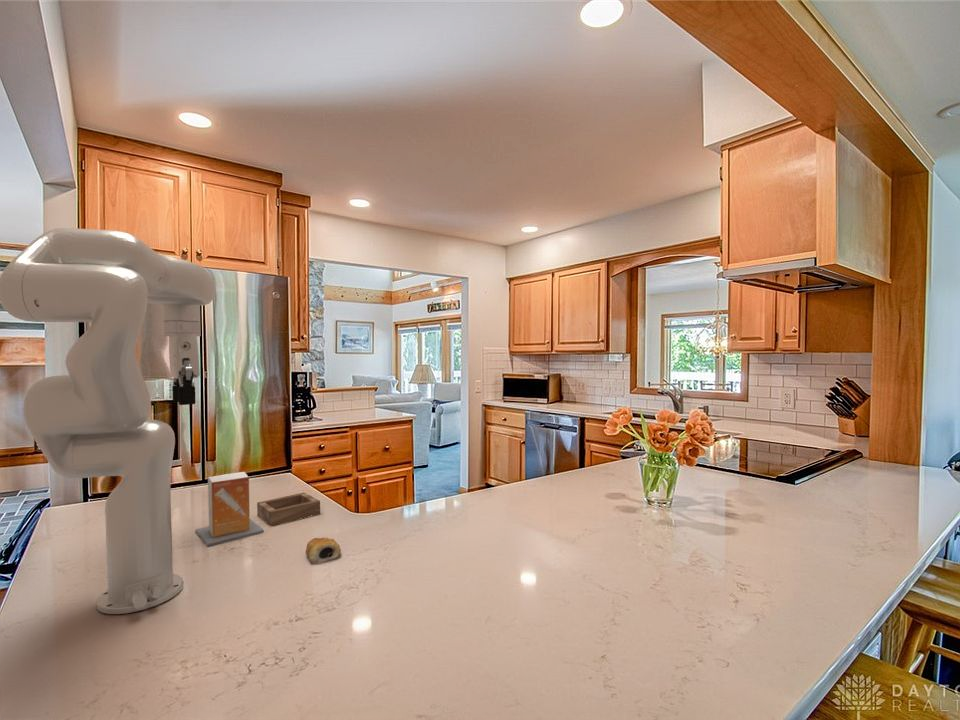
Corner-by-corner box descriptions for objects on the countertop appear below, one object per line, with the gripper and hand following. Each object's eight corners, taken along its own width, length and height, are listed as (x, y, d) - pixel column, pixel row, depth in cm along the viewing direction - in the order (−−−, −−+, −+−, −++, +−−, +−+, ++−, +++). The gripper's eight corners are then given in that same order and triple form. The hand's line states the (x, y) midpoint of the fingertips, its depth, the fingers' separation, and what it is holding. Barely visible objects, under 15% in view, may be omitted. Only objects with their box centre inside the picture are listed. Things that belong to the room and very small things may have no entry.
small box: (212, 538, 110) (210, 482, 110) (208, 530, 115) (207, 476, 115) (250, 530, 115) (249, 476, 115) (245, 522, 120) (244, 471, 120)
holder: (320, 514, 127) (320, 500, 127) (271, 526, 119) (271, 512, 119) (304, 504, 135) (304, 492, 135) (257, 515, 127) (257, 502, 127)
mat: (263, 532, 115) (263, 529, 115) (207, 546, 107) (207, 544, 107) (248, 519, 124) (248, 517, 124) (195, 532, 116) (195, 529, 116)
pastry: (300, 550, 105) (300, 533, 104) (331, 544, 108) (331, 527, 108) (311, 567, 97) (310, 548, 97) (344, 559, 100) (344, 540, 100)
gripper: (207, 328, 107) (209, 404, 108) (194, 332, 121) (195, 399, 121) (167, 327, 103) (169, 407, 103) (158, 331, 116) (160, 402, 116)
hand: (183, 403), depth 112 cm, fingers open, 9 cm apart
